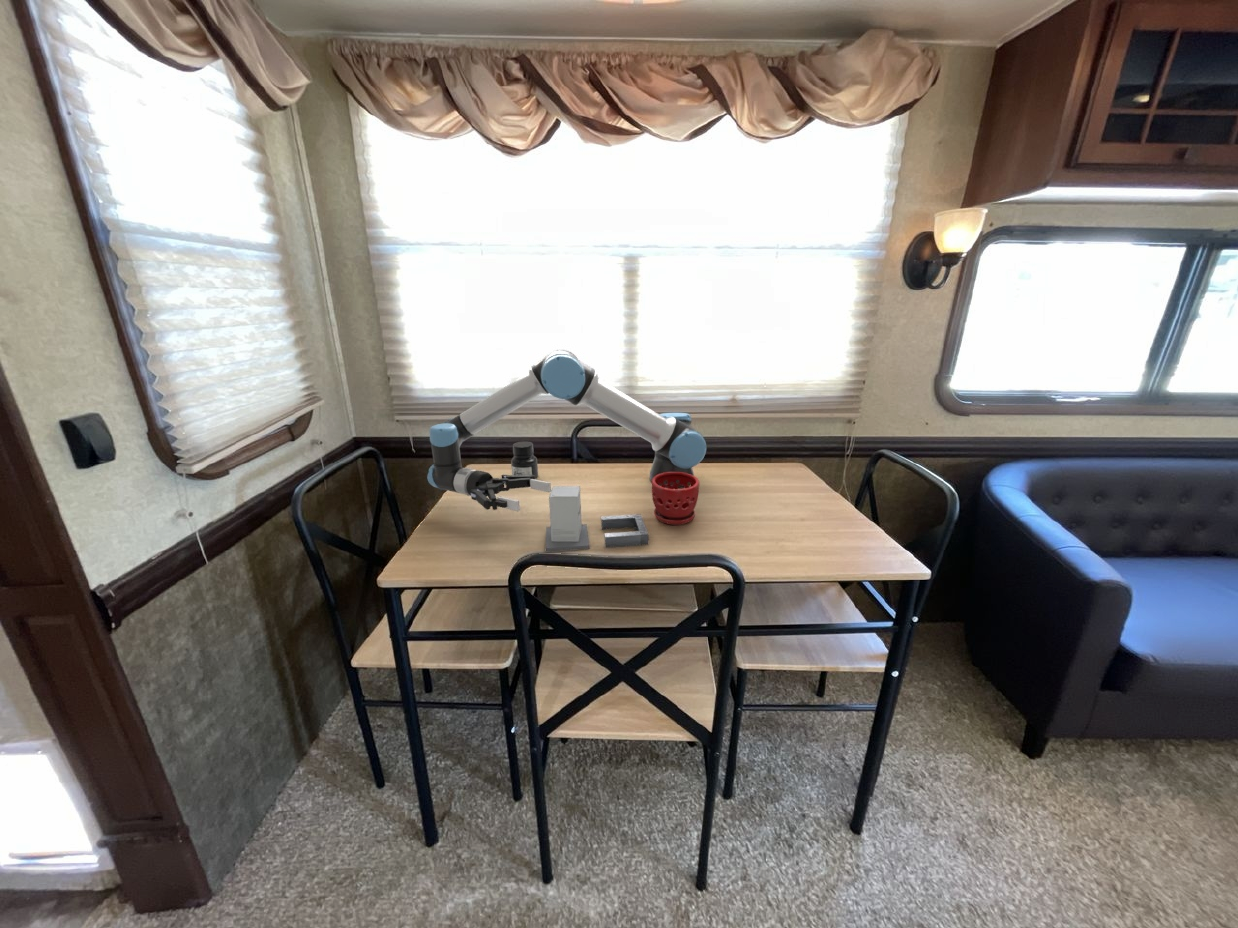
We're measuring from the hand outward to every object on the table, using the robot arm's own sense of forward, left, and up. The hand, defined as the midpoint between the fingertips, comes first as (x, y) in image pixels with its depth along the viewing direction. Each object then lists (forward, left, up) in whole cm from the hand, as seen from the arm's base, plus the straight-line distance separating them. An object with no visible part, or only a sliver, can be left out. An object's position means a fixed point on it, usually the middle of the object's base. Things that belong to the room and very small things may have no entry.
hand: (535, 496), depth 130 cm
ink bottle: (+6, -42, -11) cm, 44 cm away
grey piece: (-23, +6, -10) cm, 26 cm away
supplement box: (-8, +6, -10) cm, 14 cm away
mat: (-8, +6, -10) cm, 14 cm away
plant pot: (-38, -2, -11) cm, 40 cm away
